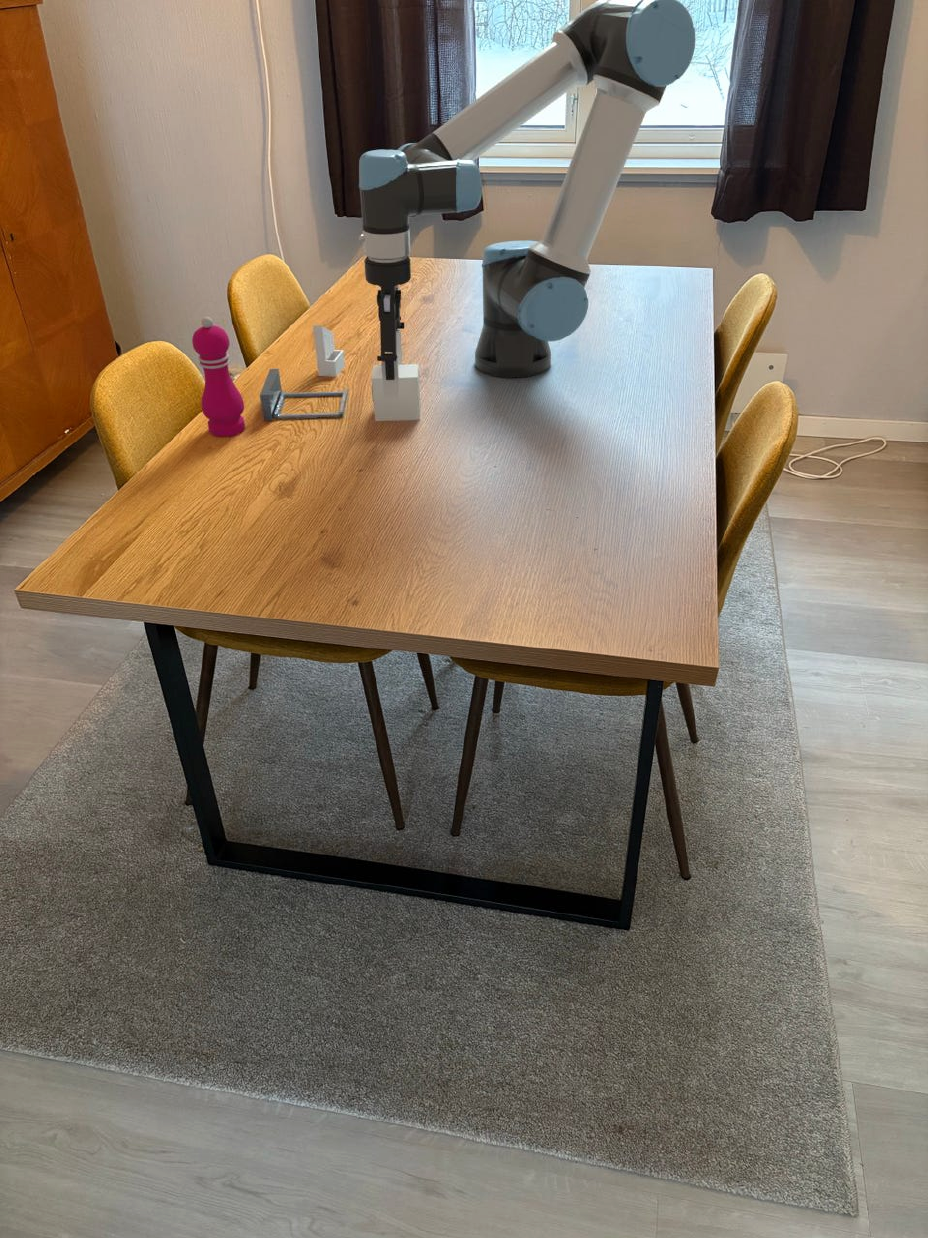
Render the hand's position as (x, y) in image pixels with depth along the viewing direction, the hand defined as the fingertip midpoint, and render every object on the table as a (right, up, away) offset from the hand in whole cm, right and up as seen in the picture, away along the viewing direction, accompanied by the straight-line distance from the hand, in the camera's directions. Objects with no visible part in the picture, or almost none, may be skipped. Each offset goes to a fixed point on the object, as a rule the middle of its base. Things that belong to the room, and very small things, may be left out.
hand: (393, 380), depth 166 cm
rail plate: (-16, -3, +7) cm, 17 cm away
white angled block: (-14, +7, +21) cm, 26 cm away
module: (+1, -5, +4) cm, 6 cm away
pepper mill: (-29, -9, 0) cm, 31 cm away
